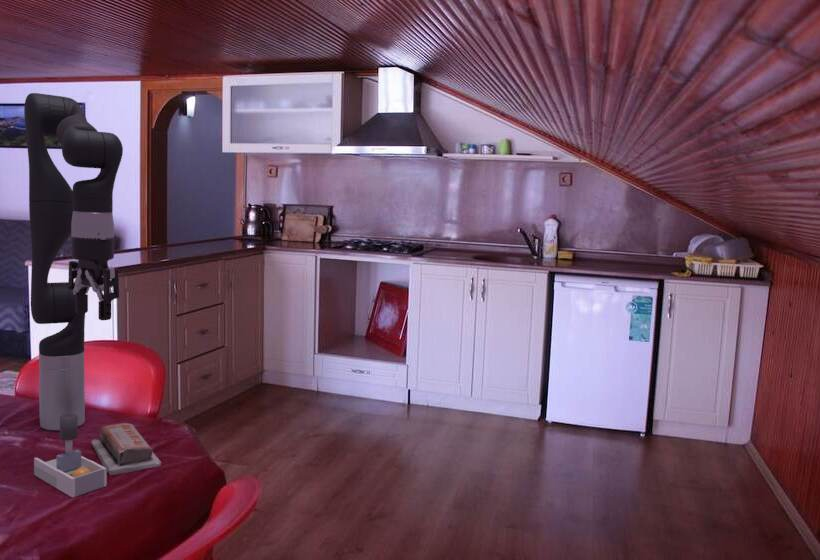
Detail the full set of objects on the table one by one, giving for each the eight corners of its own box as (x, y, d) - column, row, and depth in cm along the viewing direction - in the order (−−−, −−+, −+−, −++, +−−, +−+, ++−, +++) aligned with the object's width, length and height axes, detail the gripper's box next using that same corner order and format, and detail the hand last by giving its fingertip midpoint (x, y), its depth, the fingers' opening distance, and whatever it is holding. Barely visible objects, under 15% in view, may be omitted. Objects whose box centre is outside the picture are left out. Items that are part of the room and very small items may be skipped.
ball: (78, 477, 120) (75, 493, 121) (97, 471, 123) (94, 487, 124) (69, 467, 122) (66, 482, 123) (87, 461, 125) (84, 476, 126)
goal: (56, 488, 122) (56, 470, 122) (90, 477, 128) (90, 460, 127) (72, 497, 119) (72, 479, 119) (106, 485, 125) (106, 468, 124)
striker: (54, 469, 125) (53, 417, 124) (75, 463, 128) (74, 412, 127) (62, 474, 123) (62, 421, 122) (83, 467, 127) (83, 416, 125)
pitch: (34, 475, 127) (34, 458, 127) (67, 464, 133) (67, 448, 132) (56, 488, 122) (56, 470, 122) (90, 477, 128) (90, 460, 127)
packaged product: (90, 425, 142) (138, 418, 148) (90, 446, 143) (138, 439, 149) (109, 454, 128) (162, 445, 134) (109, 478, 129) (161, 468, 135)
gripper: (54, 232, 130) (55, 312, 132) (94, 238, 122) (94, 324, 124) (91, 231, 136) (92, 308, 138) (131, 237, 128) (131, 319, 130)
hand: (93, 316), depth 131 cm, fingers open, 8 cm apart
